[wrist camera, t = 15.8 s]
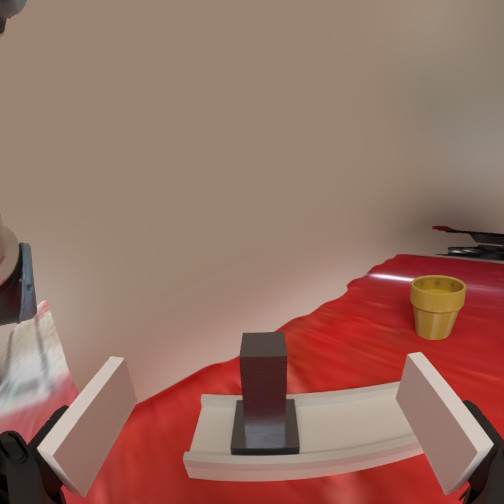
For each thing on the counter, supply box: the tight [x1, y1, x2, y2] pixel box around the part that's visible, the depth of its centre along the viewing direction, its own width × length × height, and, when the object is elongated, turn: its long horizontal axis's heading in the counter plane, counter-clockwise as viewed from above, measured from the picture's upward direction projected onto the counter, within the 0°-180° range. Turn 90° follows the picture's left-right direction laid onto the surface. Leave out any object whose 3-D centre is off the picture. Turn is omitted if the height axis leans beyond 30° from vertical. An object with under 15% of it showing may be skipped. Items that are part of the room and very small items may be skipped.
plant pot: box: [410, 275, 466, 340], centre depth 42 cm, size 10×10×10 cm
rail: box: [183, 381, 424, 481], centre depth 24 cm, size 26×10×3 cm, turn 88°
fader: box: [230, 332, 300, 456], centre depth 23 cm, size 6×7×10 cm
